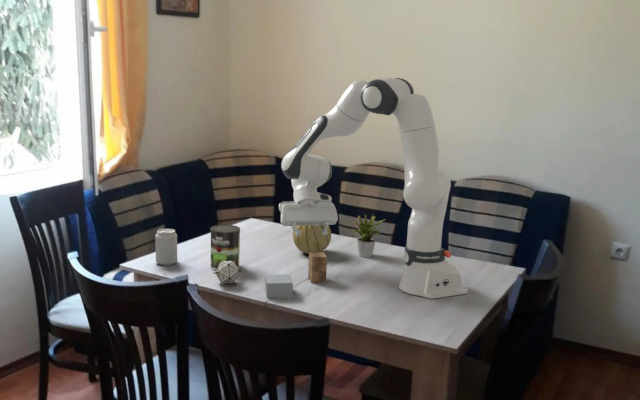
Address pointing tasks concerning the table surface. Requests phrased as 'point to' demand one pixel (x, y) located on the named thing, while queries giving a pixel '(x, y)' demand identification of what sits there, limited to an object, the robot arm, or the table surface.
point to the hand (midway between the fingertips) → (311, 234)
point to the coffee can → (224, 244)
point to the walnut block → (317, 267)
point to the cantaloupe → (312, 238)
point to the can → (166, 247)
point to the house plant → (366, 236)
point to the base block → (278, 286)
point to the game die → (227, 271)
